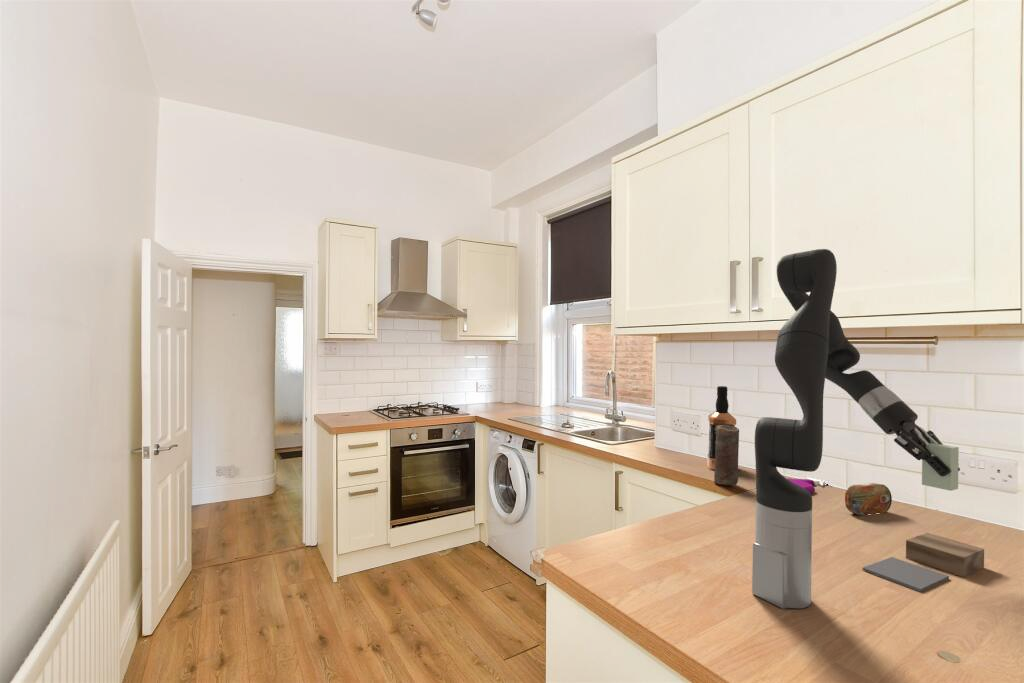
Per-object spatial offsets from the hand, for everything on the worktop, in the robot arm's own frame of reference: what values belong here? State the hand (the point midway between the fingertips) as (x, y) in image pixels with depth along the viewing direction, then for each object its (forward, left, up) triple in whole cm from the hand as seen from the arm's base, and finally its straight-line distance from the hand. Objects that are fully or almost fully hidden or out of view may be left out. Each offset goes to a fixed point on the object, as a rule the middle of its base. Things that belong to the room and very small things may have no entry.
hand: (951, 473), depth 103 cm
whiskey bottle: (+30, +81, -21) cm, 89 cm away
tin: (+24, +27, -21) cm, 42 cm away
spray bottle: (+31, +51, -21) cm, 63 cm away
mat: (-12, +3, -21) cm, 24 cm away
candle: (+11, +64, -21) cm, 68 cm away
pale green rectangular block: (0, +2, -3) cm, 4 cm away
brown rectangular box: (+3, +2, -21) cm, 21 cm away
